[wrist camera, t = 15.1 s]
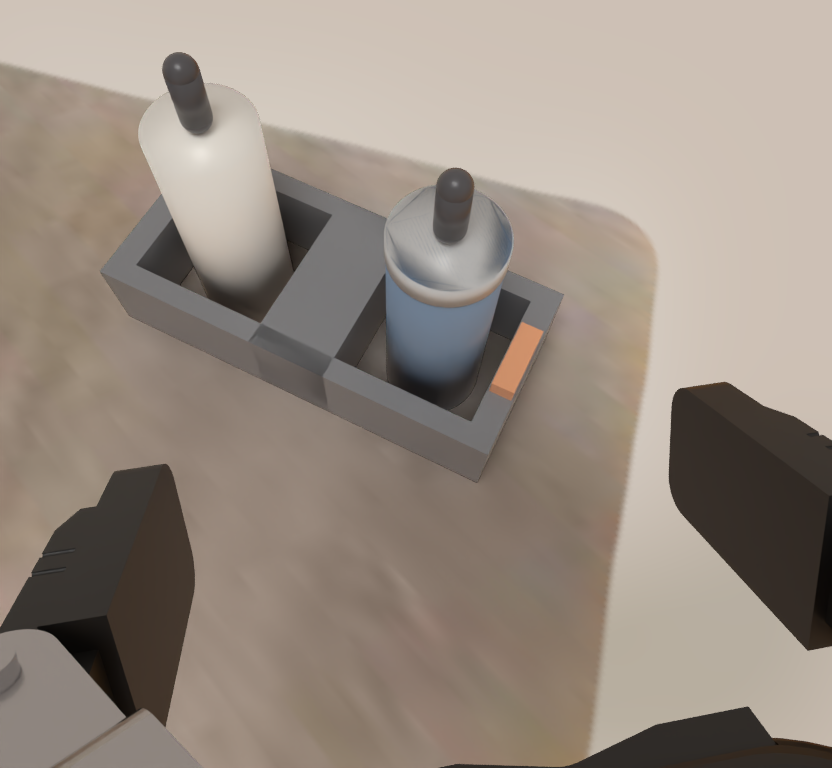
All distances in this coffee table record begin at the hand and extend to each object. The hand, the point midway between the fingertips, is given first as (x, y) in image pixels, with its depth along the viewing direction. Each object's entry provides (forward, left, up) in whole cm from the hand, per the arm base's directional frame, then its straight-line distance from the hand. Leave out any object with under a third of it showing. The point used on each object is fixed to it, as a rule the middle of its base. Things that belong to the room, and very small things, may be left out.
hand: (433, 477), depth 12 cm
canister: (-4, +11, -21) cm, 24 cm away
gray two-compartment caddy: (-9, +11, -21) cm, 25 cm away
